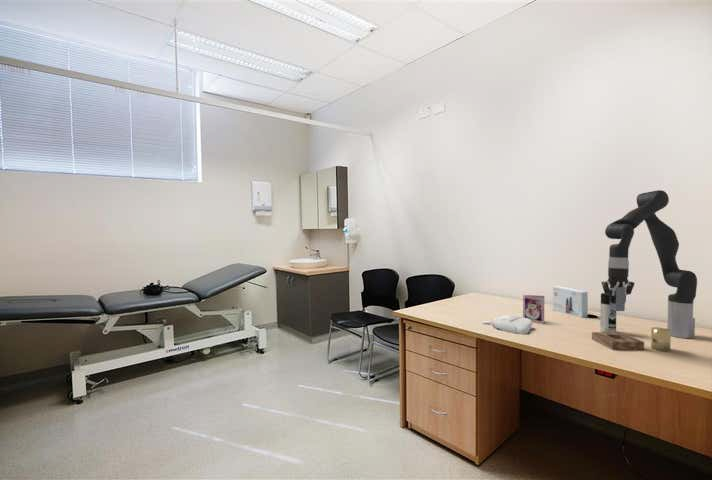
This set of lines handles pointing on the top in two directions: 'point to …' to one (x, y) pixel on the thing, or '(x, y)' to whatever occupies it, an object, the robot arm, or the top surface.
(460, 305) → the top surface
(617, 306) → the square bit
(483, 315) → the top surface
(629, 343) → the bore block
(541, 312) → the greeting card
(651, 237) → the robot arm
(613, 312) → the spray can
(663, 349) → the cylinder
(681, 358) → the top surface
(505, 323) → the lung model
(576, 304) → the skincare box
